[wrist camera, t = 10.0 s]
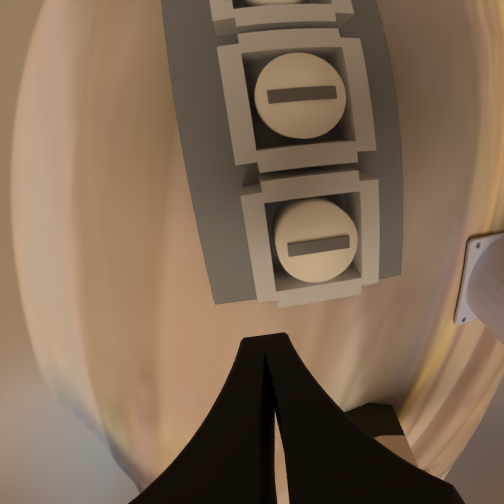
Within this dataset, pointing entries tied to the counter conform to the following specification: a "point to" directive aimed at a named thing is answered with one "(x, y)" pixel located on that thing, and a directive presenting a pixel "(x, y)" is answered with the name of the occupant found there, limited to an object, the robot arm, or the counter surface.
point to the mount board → (284, 141)
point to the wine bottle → (383, 428)
